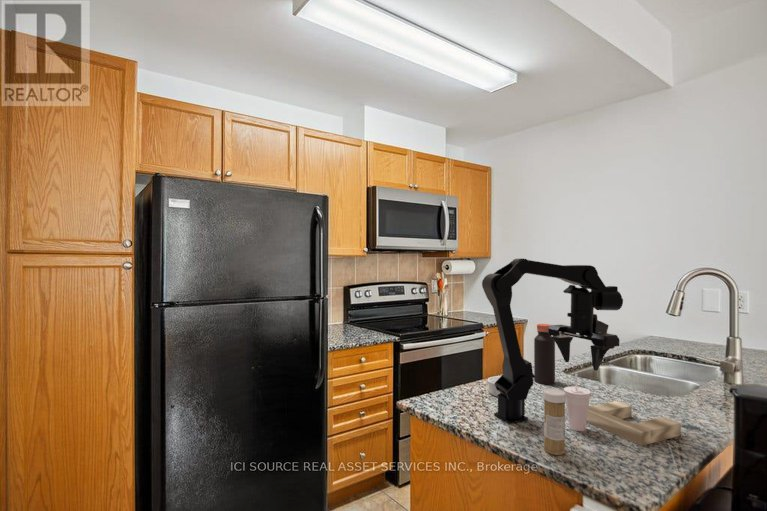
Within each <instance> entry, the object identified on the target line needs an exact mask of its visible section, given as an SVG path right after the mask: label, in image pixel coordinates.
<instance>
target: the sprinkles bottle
mask: <svg viewBox="0 0 767 511" xmlns="http://www.w3.org/2000/svg"><path fill="white" fill-rule="evenodd" d="M543 403H544V405H543V406H544V408H543V409H544V411H543V412H544V414H543V419H544V420H543V434H544V435H543V436H544V437H543V438H544V442H543V443H544V446H543V450H544V451H545V452H546V453H548V454H551V455H553V456H554V455H555V456H563V455H565V453H566V448H565V447H566V443H565V440H566V410H565V409H566V405H565V404H566V396H565V392H564V390H561V389H557V388H546V389H544V390H543Z"/></svg>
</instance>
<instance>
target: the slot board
mask: <svg viewBox="0 0 767 511" xmlns="http://www.w3.org/2000/svg"><path fill="white" fill-rule="evenodd" d="M628 418H632V405H630V404H627V403H625V402H622V401H620V400H615V401H609V402H605V403H599V404H594V405H589V406H588V414H587V421H586V423H588V424H591V425H593V426H595V427H597V428H600V429H602V430H604V431H606V432H609V433H611V434H613V435H615V436H618V437H621V438H623V439H625V440H628V441H629V442H632V443H633V444H636V445H639V446H641V447H643V446H646V445H649V444H650V445H651V444H653V443H657V442H662V441H665V440H668V439H673V438H676V437H679V436H681V435H682V423H681V422H679V421H677V420H673V419H671V418H667V417H665V416H661V417H657V418H652V419H647V420H644V421H640V422H637V423H636V422H635V423H632V422H630V421H627V420H625V419H628Z"/></svg>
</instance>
